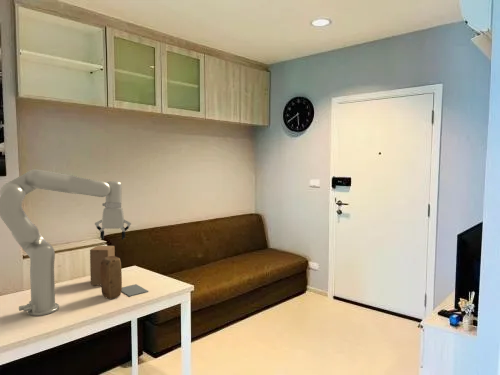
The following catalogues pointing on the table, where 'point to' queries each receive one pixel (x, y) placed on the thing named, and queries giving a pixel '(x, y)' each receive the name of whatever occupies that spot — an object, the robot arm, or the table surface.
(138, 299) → the table surface
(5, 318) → the table surface
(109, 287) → the block
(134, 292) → the mat
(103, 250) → the wooden block
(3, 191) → the robot arm
